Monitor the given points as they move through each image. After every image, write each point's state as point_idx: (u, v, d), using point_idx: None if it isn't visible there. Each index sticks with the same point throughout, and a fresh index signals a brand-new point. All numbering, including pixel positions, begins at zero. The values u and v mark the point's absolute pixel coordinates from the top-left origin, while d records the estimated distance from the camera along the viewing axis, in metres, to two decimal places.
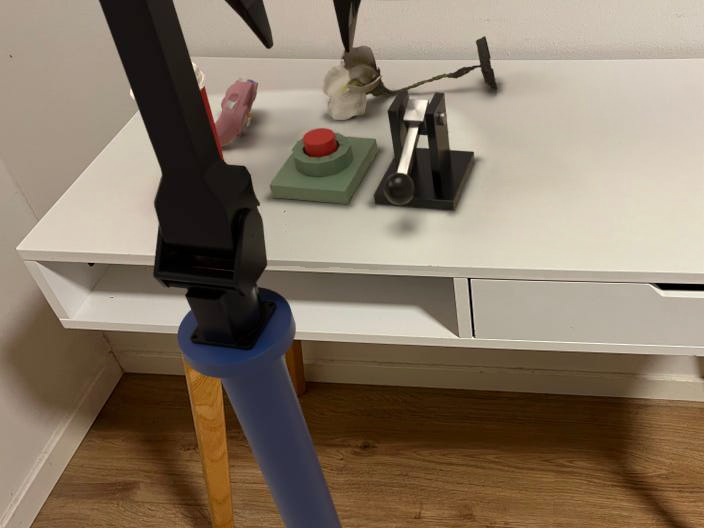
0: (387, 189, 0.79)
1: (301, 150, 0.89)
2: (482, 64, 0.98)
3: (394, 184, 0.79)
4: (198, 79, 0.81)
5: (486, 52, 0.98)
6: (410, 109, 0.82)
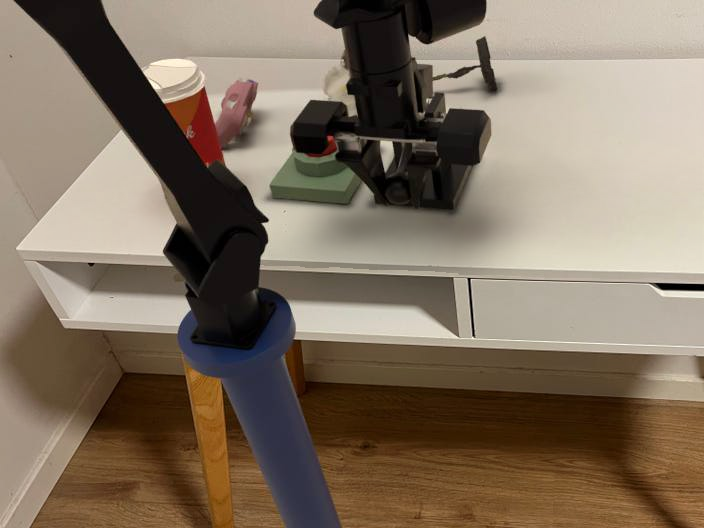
0: (387, 189, 0.79)
1: None
2: (482, 64, 0.98)
3: (394, 184, 0.79)
4: (198, 79, 0.81)
5: (486, 52, 0.98)
6: None
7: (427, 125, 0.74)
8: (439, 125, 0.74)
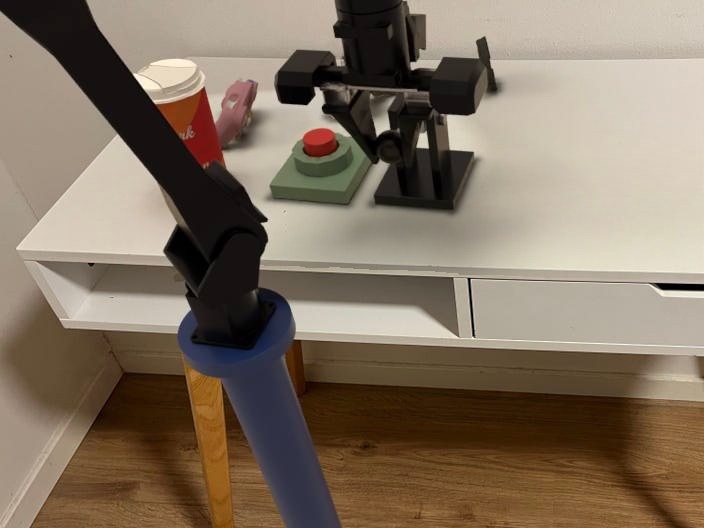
0: (379, 139, 0.75)
1: (301, 150, 0.89)
2: None
3: (387, 133, 0.75)
4: (198, 79, 0.81)
5: (486, 52, 0.98)
6: None
7: (419, 74, 0.70)
8: (432, 74, 0.70)
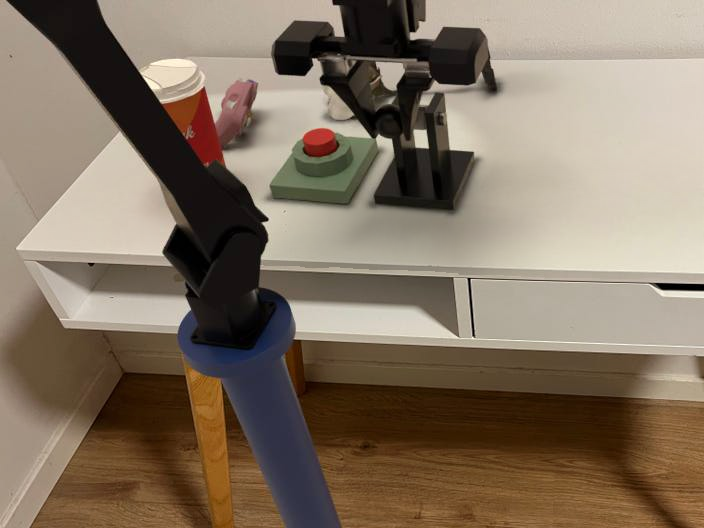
0: (378, 110, 0.74)
1: (301, 150, 0.89)
2: None
3: (387, 105, 0.74)
4: (198, 79, 0.81)
5: None
6: None
7: (419, 43, 0.69)
8: (432, 43, 0.68)
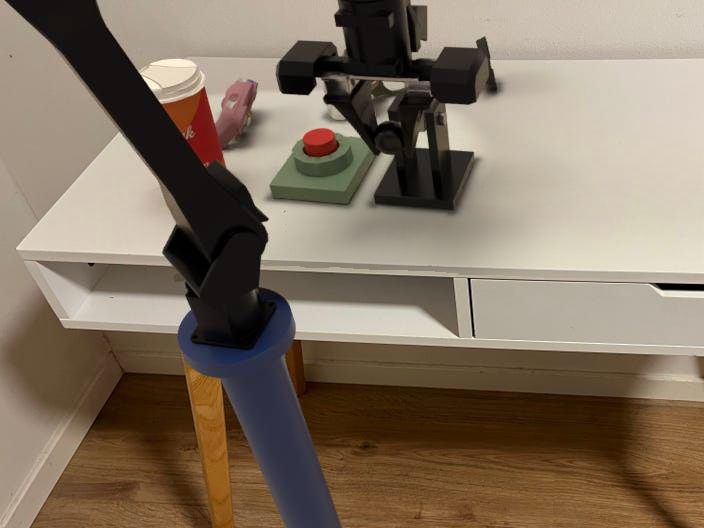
0: (378, 128, 0.75)
1: (301, 150, 0.89)
2: None
3: (387, 123, 0.75)
4: (198, 79, 0.81)
5: (486, 52, 0.98)
6: None
7: (420, 63, 0.70)
8: (433, 63, 0.70)
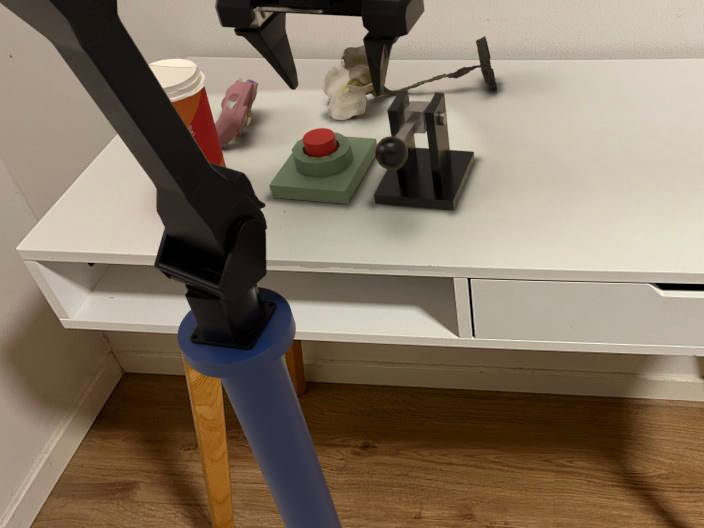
0: (379, 146, 0.75)
1: (301, 150, 0.89)
2: (482, 64, 0.98)
3: (387, 141, 0.75)
4: (198, 79, 0.81)
5: (486, 52, 0.98)
6: (411, 105, 0.83)
7: None
8: None
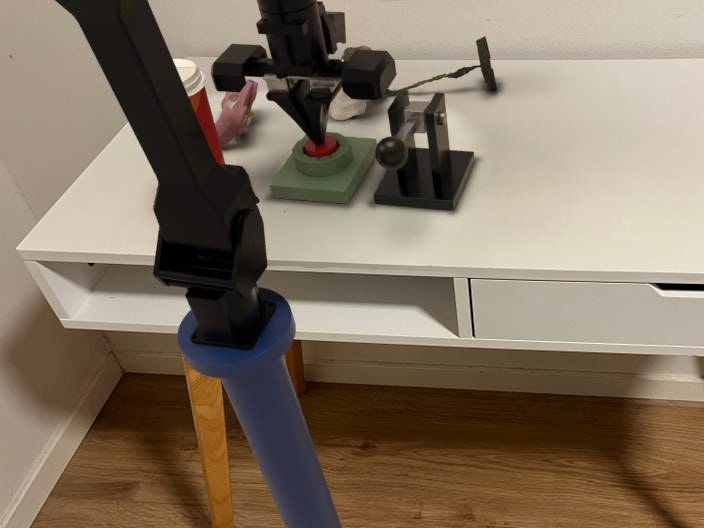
0: (379, 146, 0.75)
1: (301, 150, 0.89)
2: (482, 64, 0.98)
3: (387, 141, 0.75)
4: (198, 79, 0.81)
5: (486, 52, 0.98)
6: (411, 105, 0.83)
7: (335, 64, 0.81)
8: (346, 64, 0.81)
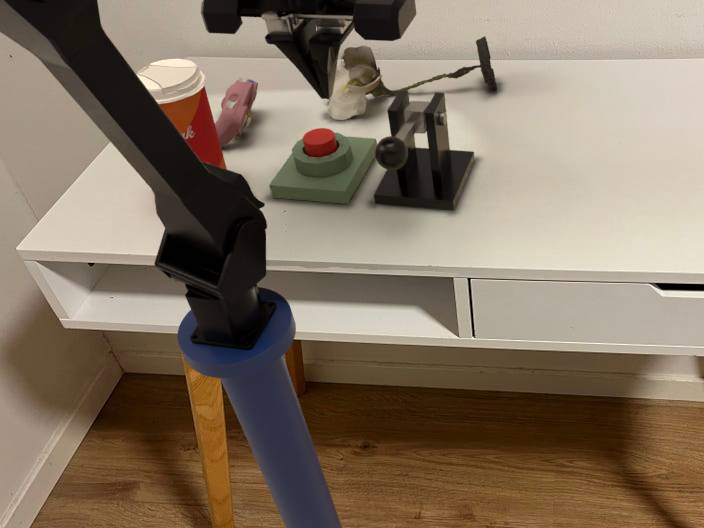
0: (379, 146, 0.75)
1: (301, 150, 0.89)
2: (482, 64, 0.98)
3: (387, 141, 0.75)
4: (198, 79, 0.81)
5: (486, 52, 0.98)
6: (411, 105, 0.83)
7: (345, 0, 0.69)
8: None
